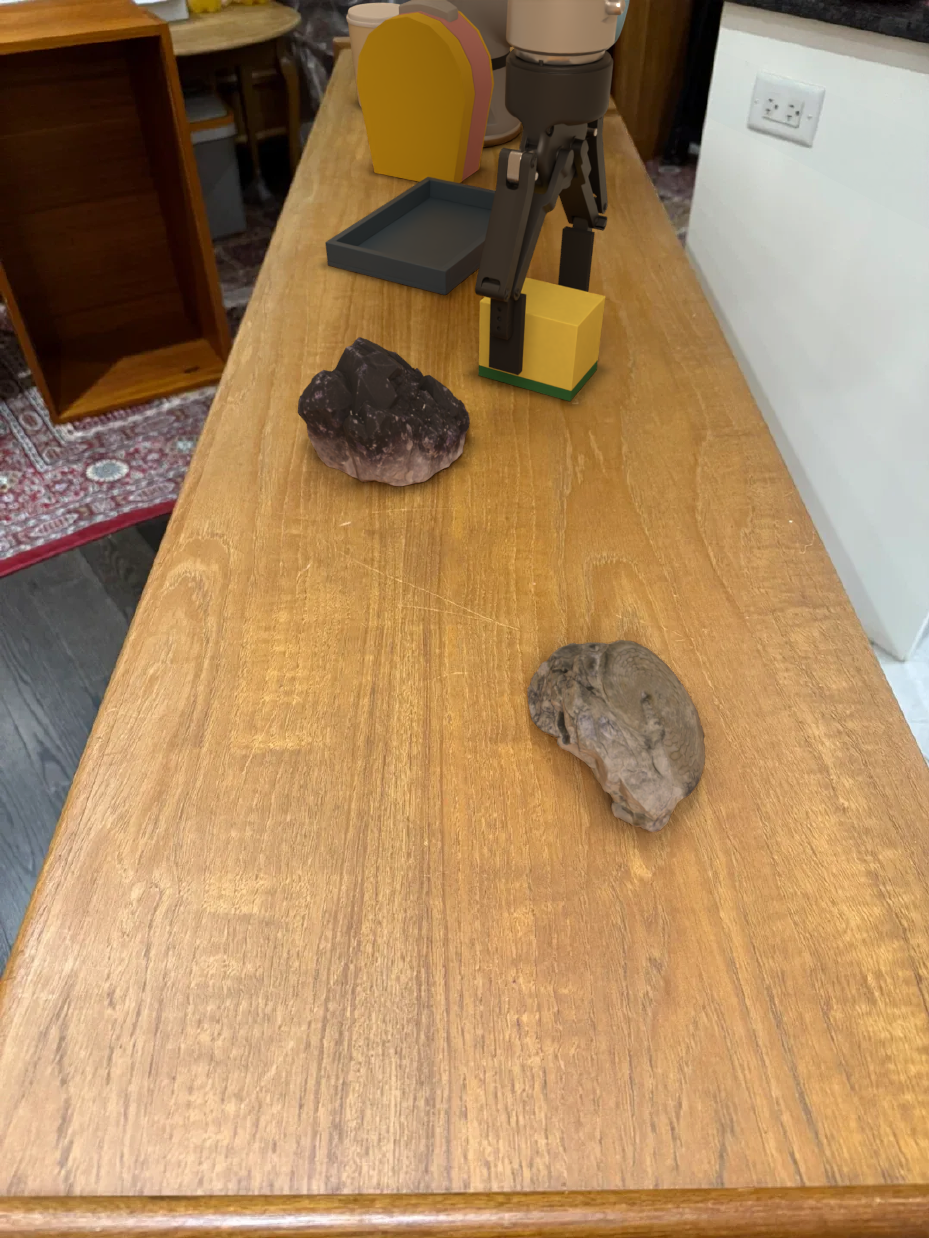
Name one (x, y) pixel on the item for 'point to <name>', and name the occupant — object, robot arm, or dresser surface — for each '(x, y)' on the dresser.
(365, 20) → the coffee cup
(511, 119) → the robot arm
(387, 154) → the yellow arched slab
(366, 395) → the crystal cluster
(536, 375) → the sponge
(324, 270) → the dresser surface
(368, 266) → the tray
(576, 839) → the dresser surface
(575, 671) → the fossilized seashell
